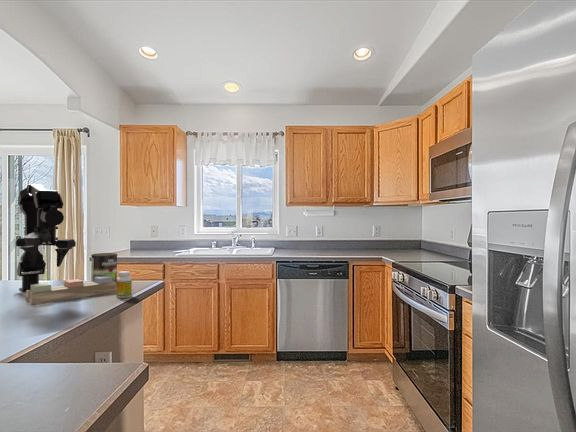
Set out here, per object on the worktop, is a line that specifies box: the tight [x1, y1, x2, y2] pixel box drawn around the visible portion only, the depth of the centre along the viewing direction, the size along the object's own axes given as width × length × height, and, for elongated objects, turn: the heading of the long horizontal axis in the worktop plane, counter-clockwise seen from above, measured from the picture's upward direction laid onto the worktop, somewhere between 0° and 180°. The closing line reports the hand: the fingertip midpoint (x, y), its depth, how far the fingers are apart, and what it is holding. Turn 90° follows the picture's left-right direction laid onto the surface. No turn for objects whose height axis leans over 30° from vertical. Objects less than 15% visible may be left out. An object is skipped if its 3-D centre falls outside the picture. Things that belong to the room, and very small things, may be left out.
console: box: [25, 281, 117, 306], centre depth 140 cm, size 7×29×4 cm, turn 140°
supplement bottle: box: [115, 270, 133, 299], centre depth 141 cm, size 5×5×10 cm
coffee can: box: [90, 252, 118, 286], centre depth 159 cm, size 10×10×14 cm
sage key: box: [31, 282, 52, 293], centre depth 132 cm, size 5×5×4 cm
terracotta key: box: [63, 278, 84, 288], centre depth 140 cm, size 5×5×4 cm
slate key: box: [94, 276, 112, 284], centre depth 149 cm, size 5×5×4 cm
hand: (45, 266), depth 133 cm, fingers open, 9 cm apart
